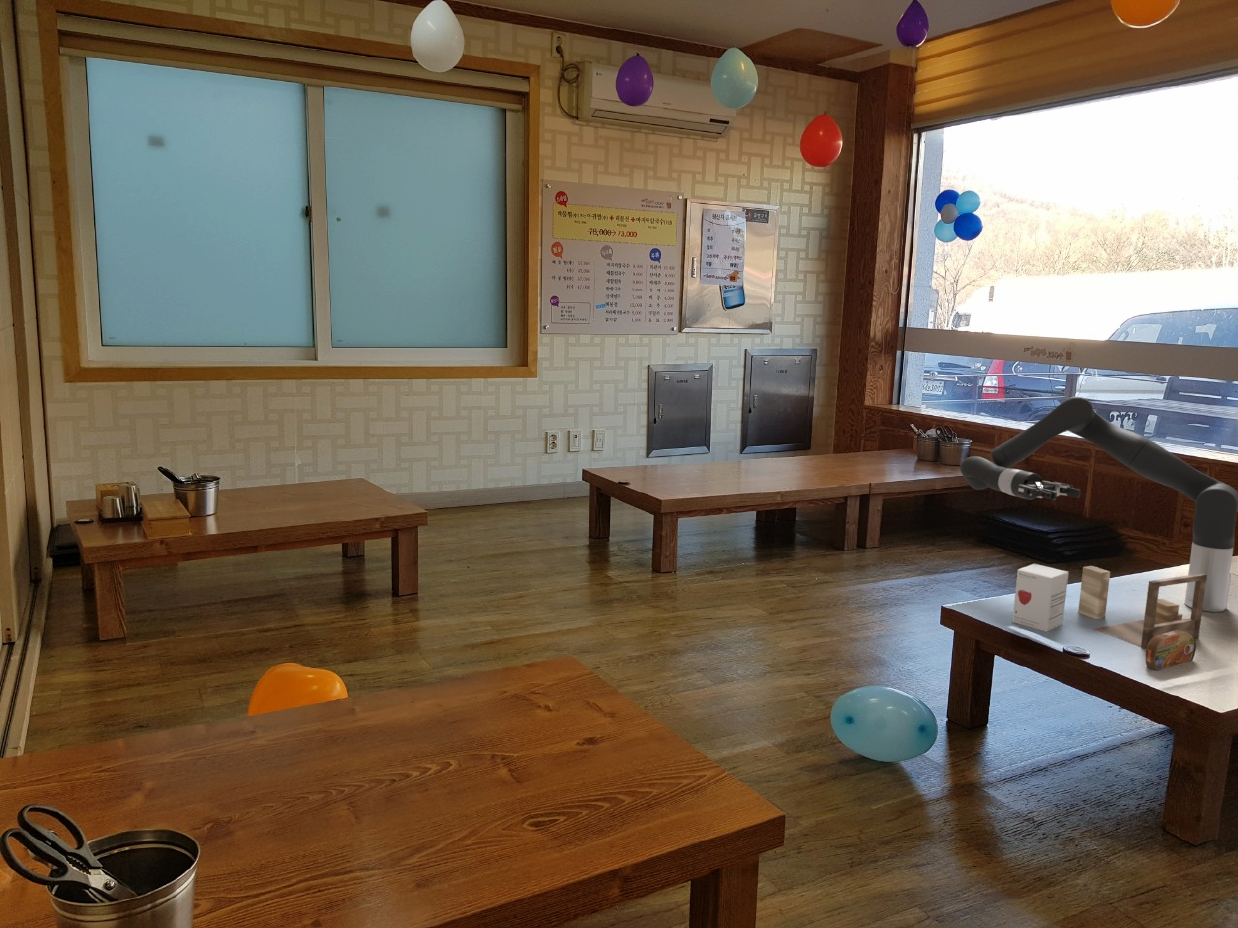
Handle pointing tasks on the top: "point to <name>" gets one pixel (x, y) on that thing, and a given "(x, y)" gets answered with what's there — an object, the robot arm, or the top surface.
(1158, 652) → the tin
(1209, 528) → the robot arm
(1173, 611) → the offcut top
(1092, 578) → the pale wooden block
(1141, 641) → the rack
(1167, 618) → the offcut mid
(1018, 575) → the supplement box
